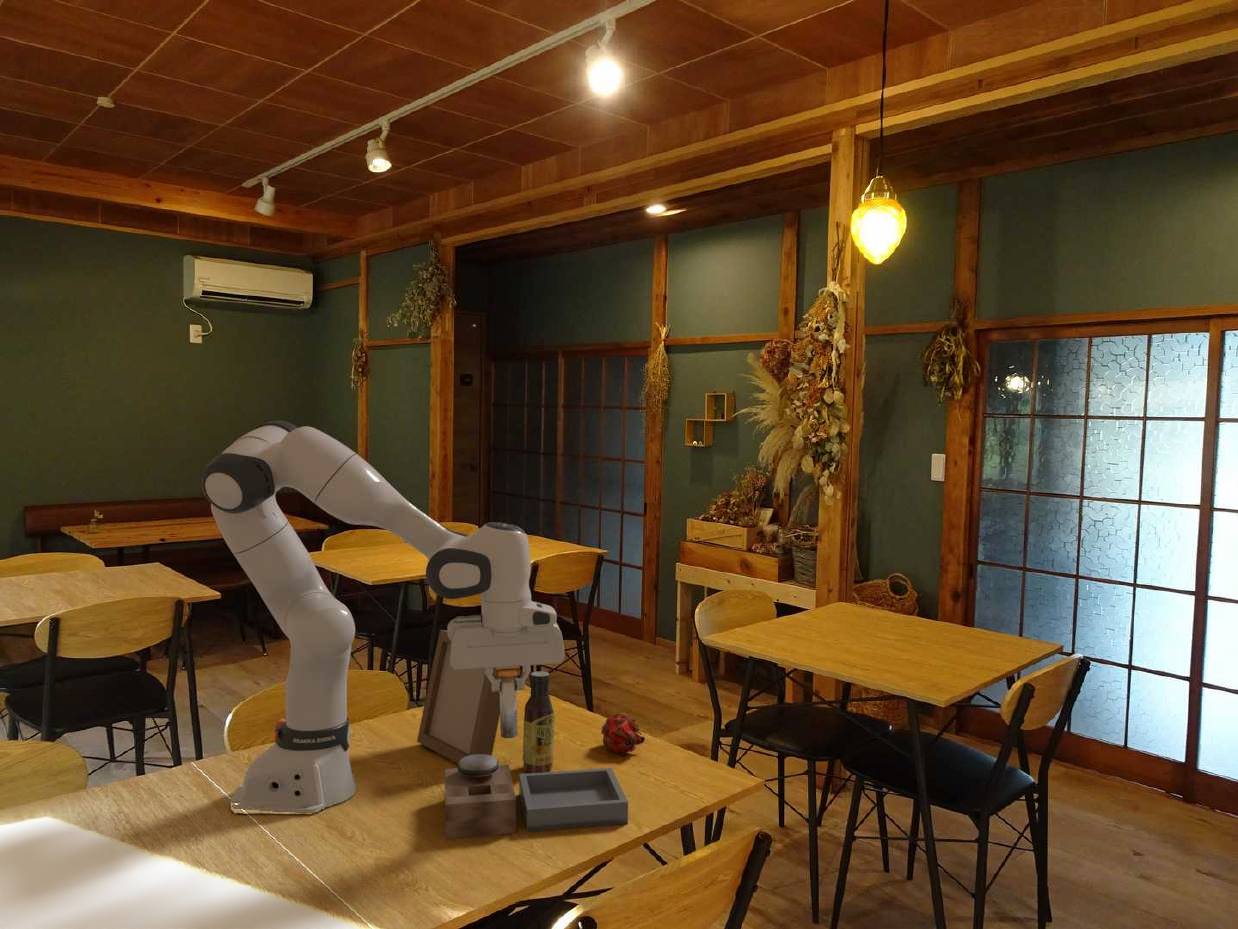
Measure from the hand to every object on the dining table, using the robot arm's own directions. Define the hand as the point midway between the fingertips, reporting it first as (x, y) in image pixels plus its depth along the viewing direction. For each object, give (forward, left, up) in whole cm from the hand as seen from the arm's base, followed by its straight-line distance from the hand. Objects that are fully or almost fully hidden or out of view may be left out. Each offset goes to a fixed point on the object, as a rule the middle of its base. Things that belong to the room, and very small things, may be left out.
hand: (508, 690), depth 162 cm
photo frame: (-5, +35, -24) cm, 43 cm away
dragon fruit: (+27, +30, -24) cm, 47 cm away
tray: (+12, +3, -24) cm, 27 cm away
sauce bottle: (+8, +23, -24) cm, 34 cm away
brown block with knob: (-5, +3, -24) cm, 25 cm away
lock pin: (0, 0, -8) cm, 8 cm away
